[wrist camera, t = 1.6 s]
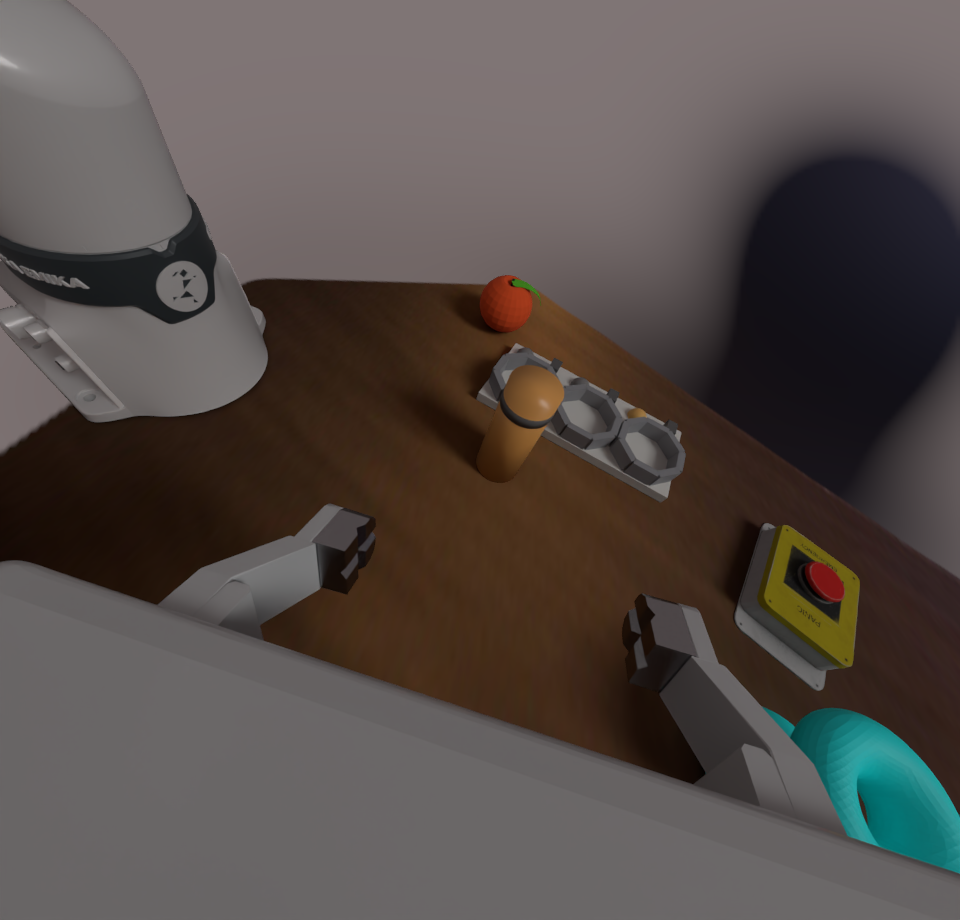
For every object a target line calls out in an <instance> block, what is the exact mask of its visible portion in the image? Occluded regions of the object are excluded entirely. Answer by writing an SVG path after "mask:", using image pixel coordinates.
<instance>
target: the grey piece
mask: <svg viewBox="0 0 960 920" xmlns="http://www.w3.org/2000/svg"><path fill="white" fill-rule="evenodd" d="M562 363H563V362H561V361H559V360H558V359H556V358H554V359H553V361H552V362H550V361H548V360H547V359H545V358H543V357H541V356H539V355H537V354H536V353H534V352H532V350H531V349H529V348H525V347H523V346H521V345H519V344H517V343H516V344H515V345H514V347H513V348H512V349H511V351H510V352H509V353H508V354H505V355H503V356H502V357H501V359H500V360H499V361H498V362H497V364H496V365H495V366H494V368H493V370H492V373H491V376H490V378H489V379H488V381H487V382H486V383H485V385H484V386H483V387H482V389H481V390H480V391H479V393H478V396H477V400H478V401H480V402H482V403H484V404H485V405H487V406H489V407H491V408H493V409H494V410H496V408H497V406H498V403H499V401H500V397H501V394H502V392H503V389H504V387H505V385H506V384H507V381H508V379H509V376H510V374H511V372H512V371H513V370H514V369H516V368H517V367H520V366H523V365H534V366H538V367H542V368H544V369H546V370H548V371H550V372H551V373H552V374H554V375H555V376H556V377H557V378H558V379H559V381H560V382H561V384H562V386H563V388H564V398H563V401H562V402H561V404H560V405H559V407H558V409H557V411H556V413H555V414H554V416H553V418H552V419H551V421H550V422H549V423H548V424H547V426H546V428H545V429H544V431H543V432H542V434H541V436H543V437H544V438H546V439H548V440H550V441H552V442H553V443H555V444H557V445H559V446H561V447H562V448H564V449H566V450H568V451H569V452H571V453H573V454H575V455H577V456H578V457H580V458H582V459H584V460H586V461H587V462H589V463H591V464H593V465H594V466H596V467H598V468H600V469H602V470H603V471H605V472H607V473H609V474H611V475H612V476H614V477H616V478H618V479H619V480H621V481H623V482H625V483H627V484H628V485H630V486H632V487H634V488H636V489H637V490H639V491H641V492H643V493H644V494H646V495H648V496H650V497H652V498H653V499H655V500H657V501H659V502H662V501H663V500H665V499H666V498H668V493H669V488H670V483H671V480H672V479H674V478H675V477H676V476H678V475H679V474H681V472H682V471H683V466H684V461H685V455H686V453H684V452H685V450H684V449H683V447H682V446H681V444H680V443H679V441H680V436H681V432H680V431H678V430H677V426H678V424H676V423H674V422H673V421H671V420H668V421H667V422H666V423H663V422H661V421H660V420H658V419H656V418H654V417H652V416H650V415H648V414H647V413H645V412H644V411H643V410H642V409H640V408H635V407H634V406H632V405H630V404H628V403H626V402H624V401H623V400H621V399H619V398H618V396H619V392H617V391H615V390H613V389H610V390H609V391H608V392H606V391H604V390H602V389H600V388H598V387H597V386H595V385H593V384H591V383H589V382H588V381H587V380H586V379H585V378H582V377H578V376H576V375H574V374H573V373H571V372H569V371H567V370H565V369H563V368H561V367H560V366H561V365H562Z"/></svg>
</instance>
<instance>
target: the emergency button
mask: <svg viewBox="0 0 960 920" xmlns="http://www.w3.org/2000/svg"><path fill="white" fill-rule="evenodd" d="M859 588H860V582H859V579H858V577H857V576H856V575H855V574H854V573H853V572H852V571H851V570H849V569H848V568H847V567H845V566H844V565H842V564H841V563H840V562H838V561H837V560H836V559H834V558H833V557H831V556H830V555H829V554H827V553H826V552H825V551H823V550H822V549H820V548H819V547H818V546H816V545H815V544H814V543H812V542H811V541H809V540H808V539H807V538H805V537H804V536H803V535H801V534H800V533H798V532H797V531H796V530H794V529H793V528H792V527H790V526H788V525H782V526H778V527H776V528H775V527H774V526H773V525H771V524H769V523H766V524H763V525H762V527H761V530H760V533H759V537H758V540H757V543H756V546H755V550H754V553H753V556H752V559H751V562H750V566H749V569H748V572H747V575H746V578H745V582H744V585H743V588H742V591H741V595H740V598H739V601H738V604H737V607H736V611H735V614H734V620H735V623H736V626H737V627H738V628H739V629H740V630H741V631H742V632H743V633H744V634H745V635H747V636H748V637H749V638H750V639H752V640H753V641H754V642H755V643H757V644H758V645H759V646H760V647H761V648H763V649H764V650H765V651H766V652H768V653H769V654H770V655H771V656H773V657H774V658H775V659H776V660H777V661H779V662H780V663H781V664H782V665H784V666H785V667H786V668H787V669H789V670H790V671H791V672H792V673H793V674H795V675H796V676H797V677H798V678H800V679H801V680H802V681H803V682H804V683H806V684H807V685H808V686H809V687H811V688H812V689H814V690H816V691H818V690H822V689H823V687H824V683H825V676H826V670H830V669H837V668H846V667H850V666H852V664H853V655H854V644H855V633H856V621H857V610H858V599H859Z"/></svg>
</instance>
